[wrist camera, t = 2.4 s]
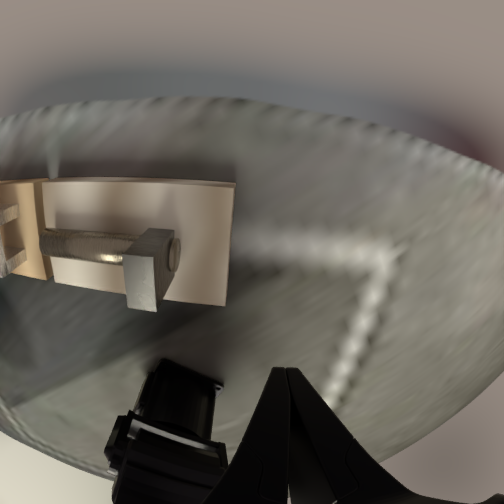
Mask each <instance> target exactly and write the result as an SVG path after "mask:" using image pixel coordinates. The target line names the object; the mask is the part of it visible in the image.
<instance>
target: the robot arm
mask: <svg viewBox="0 0 504 504" xmlns="http://www.w3.org/2000/svg"><path fill="white" fill-rule="evenodd" d="M165 364H166V365H165ZM223 390H224V385H223V384H222V383H219V382H217V381H214V380H212V379H210V378H207V377H205V376H202V375H200V374H198V373H195V372H193V371H191V370H188V369H186V368H184V367H182V366H180V365H177V364H175V363H173V362H171V361H169V360H167V359H161V360H160V362H159V364H158V366H157V367H156V369H155V371H154V372H152V371H151V372H149V373H148V375H147V377H146V379H145V381H144V382H143V384H142V387H141V390H140V392H139V395H138V398H137V401H136V403H135V406H134V409H133V411H131V410H129V411H128V414H127V416H126V415H124V416H118V417H117V420H116V422H115V425H114V428H113V430H112V432H111V435H110V437H109V440H108V442H107V444H106V447H105V450H104V454H105V456H106V458H107V460H108V463H107V464H108V465H110V466H109V469H108V472H107V473H109V474H112V475H114V476H116V477H115V480H114V484H113V487H112V501H113V504H287V499H288V484H289V491H290V498H291V504H467V503H459V502H453V501H446V500H440V499H436V498H431V497H426V496H422V495H419V494H416V493H414V492H412V491H410V490H409V489H407V488H406V487H405V486H403V485H402V484H401V483H400V482H399V481H398V480H396V479H395V478H394V477H393V476H392V475H391V474H389V473H388V472H387V471H386V470H385V469H383V467H382V466H380V465H379V464H378V463H377V462H376V461H375V460H374V459H373V458H372V457H371V456H370V455H369V454H368V453H367V452H366V450H365V449H364V448H363V447H362V446H361V445H360V444H359V442H358V441H357V440H356V439H355V438H354V437H353V435H352V434H351V433H350V432H349V431H348V429H347V428H346V427H345V426H344V425H343V423H342V422H341V421H340V420H339V418H338V417H337V416H336V415H335V414H334V412H333V411H332V410H331V409H330V407H329V406H328V405H327V404H326V402H325V401H324V400H323V399H322V398H321V396H320V395H319V394H318V393H317V391H316V390H315V389H314V387H313V386H312V385H311V384H310V382H309V381H308V380H307V379H306V377H305V376H304V375H303V374H302V372H301V371H300V370H299V369H298V368H293V367H287V368H284V367H273V368H272V370H271V372H270V375H269V377H268V380H267V382H266V385H265V387H264V390H263V392H262V394H261V397H260V399H259V402H258V404H257V406H256V409H255V411H254V413H253V416H252V418H251V420H250V423H249V425H248V427H247V430H246V432H245V434H244V436H243V438H242V442H241V443H240V445H239V447H238V449H237V451H236V453H235V455H234V457H233V459H232V461H231V463H230V464H229V466H228V460H227V453H226V446H225V443H221V442H214V441H211V433H212V424H213V416H214V407H215V399H216V398H217V397H218V396H219V395H220V393H221V392H222V391H223ZM476 504H504V495H503V494H499V493H497V494H495V495H493V496H492V497H490V498H489V499H487V500H486V501H484V502H481V503H476Z"/></svg>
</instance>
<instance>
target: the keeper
mask: <svg viewBox="0 0 504 504" xmlns="http://www.w3.org/2000/svg"><path fill="white" fill-rule="evenodd" d="M19 216H20V210H19V204H0V226H1V225H3V224H5V223H7V222H9V221H11V220H13V219H15V218H17V217H19ZM25 261H27V256H26V251H25V249H23V248H16V247H9V246H4V247H3V244H2V239H1V233H0V278H4V277H5V276H6V275H8V274H9V273H10V272H12V271H13V270H14V269H16V268H17V267H18V266H20V265H21V264H22V263H24V262H25Z"/></svg>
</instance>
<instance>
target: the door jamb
mask: <svg viewBox="0 0 504 504" xmlns="http://www.w3.org/2000/svg"><path fill="white" fill-rule="evenodd" d="M235 186H236V183H230V182H218V181H204V180H188V179H168V178H141V177H62V178H55V179H51V180H49V178H37V179H19V180H5V181H0V204H19V210H20V216H19V217H17V218H15V219H13V220H11V221H9V222H7V223H5V224H3V225H1V226H0V233H1V239H2V244H3V247H4V246H9V247H16V248H23V249H25V251H26V256H27V261H25V262H24V263H22V264H21V265H20V266H18V267H17V268H16V269H14V270H13V271H12V272H10V273H15V274H19V275H24V276H28V277H33V278H38V279H43V280H48V279H49V278H50V277H51V276H52V275H53V274H54V278H55V282H58V283H63V284H69V285H74V286H80V287H85V288H91V289H97V290H103V291H109V292H116V293H122V294H126V289H125V281H124V272H123V266H118V265H110V264H102V263H94V262H86V261H79V260H72V259H64V258H57V257H50V256H44V255H43V254H42V253H41V251H40V248H39V238H40V235H41V232H42V231H43V230H44V229H45V228H47V227H49V228H61V229H74V230H86V231H98V232H110V233H122V234H134V235H142V234H143V233H144V232H145V231H146V230H147V229H148V228H158V229H171V230H174V238H179V240H180V244H181V254H180V262H179V266H178V269H177V271H176V272H175V277H174V278H173V280H172V282H171V284H170V286H169V288H168V290H167V292H166V294H165V296H164V298H163V299H165V300H173V301H181V302H190V303H199V304H208V305H218V306H225V304H226V297H227V289H228V275H229V261H230V247H231V234H232V222H233V210H234V198H235Z"/></svg>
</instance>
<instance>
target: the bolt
mask: <svg viewBox="0 0 504 504" xmlns="http://www.w3.org/2000/svg"><path fill="white" fill-rule="evenodd" d="M39 248H40V251H41V253H42V254H43V255H44V256H50V257H57V258H64V259H72V260H79V261H86V262H94V263H102V264H110V265H118V266H123V272H124V281H125V289H126V297H127V304H128V308H134V309H140V310H147V311H154V312H157V310H158V308H159V306H160V304H161V302H162V300H163V298H164V296H165V294H166V292H167V290H168V288H169V286H170V284H171V282H172V280H173V278H174V277H175V272H176V271H177V269H178V266H179V262H180V254H181V244H180V240H179V238H174V230H171V229H158V228H148V229H147V230H146V231H145V232H144V233H143V234H142V235H134V234H122V233H110V232H98V231H86V230H74V229H61V228H49V227H47V228H45V229H44V230H43V231H42V232H41V235H40V238H39Z"/></svg>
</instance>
